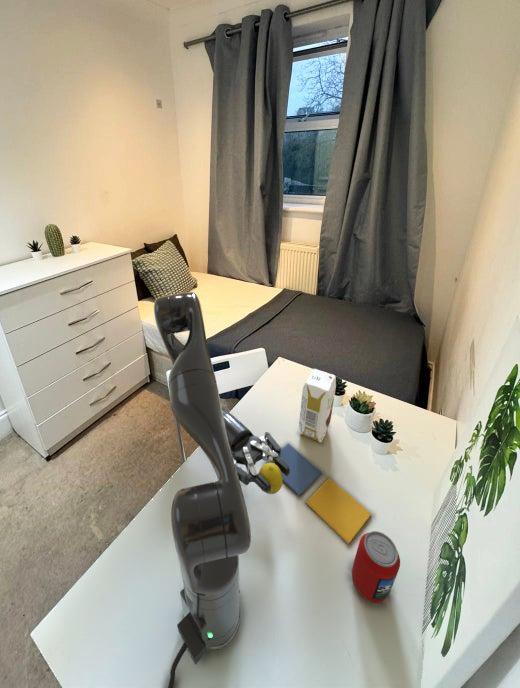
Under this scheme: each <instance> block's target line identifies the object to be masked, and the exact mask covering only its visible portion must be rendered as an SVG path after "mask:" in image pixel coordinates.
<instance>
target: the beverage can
mask: <svg viewBox="0 0 520 688" xmlns="http://www.w3.org/2000/svg"><path fill="white" fill-rule="evenodd" d="M400 567H401V557H400V554H399V551H398V549H397V546H396V544H395V543H394V541H393V540H392V538H390V537H389V536H388V535H386V534H385V533H383V532H380V531H376V530H373V531H370V532H366V533H364V534H363V535H362V536H361V537H360V539H359V542H358V545H357V549H356V552H355V556H354V560H353V563H352V568H351V579H352V581H353V582H352V583H353V585H354V587H355V588H356V590H357V591H358V593H359V595H361V596H362V597H363V598H364V599H366V600H368V601H369V602H372V603H377V604H380V603H383V602H385V601H386V600H387V599H388V597H389V595H390V593H391V591H392V589H393V586H394V583H395V582H396V578H397V576H398V573H399V570H400Z"/></svg>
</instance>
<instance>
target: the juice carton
mask: <svg viewBox="0 0 520 688" xmlns="http://www.w3.org/2000/svg"><path fill="white" fill-rule="evenodd" d="M336 379H337V377H336V375H335V374H332V373H329V372H326V371H323V370H319V369H318V368H312V369H311V371H310V373H309V375H308V377H307V379H306V381H305V383H304V384H303V387H302V392H301V401H300V412H299V419H298V420H299V422H298V427H299V434H300V435H302V436H303V437H306V438H309V439H311V440H314V441H316V442H318V443H322V442H323V440H324V439H325V436H326V434H327V432H328V428H329V426H330V424H331V420H332V415H333V409H334V402H335V395H336V388H337V381H336Z"/></svg>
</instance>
